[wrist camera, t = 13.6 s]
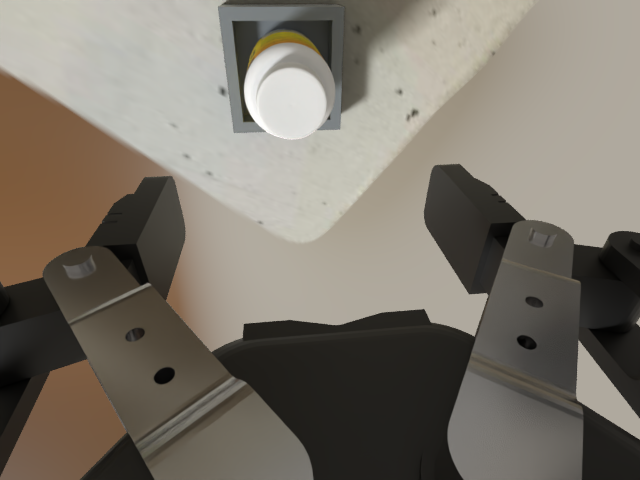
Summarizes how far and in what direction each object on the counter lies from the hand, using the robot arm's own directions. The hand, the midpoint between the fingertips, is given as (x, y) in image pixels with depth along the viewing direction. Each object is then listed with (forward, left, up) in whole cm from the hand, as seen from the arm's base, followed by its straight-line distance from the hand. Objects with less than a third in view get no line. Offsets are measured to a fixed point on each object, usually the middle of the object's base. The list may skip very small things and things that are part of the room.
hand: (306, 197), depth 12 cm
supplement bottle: (0, 0, -21) cm, 21 cm away
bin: (0, 0, -22) cm, 22 cm away
